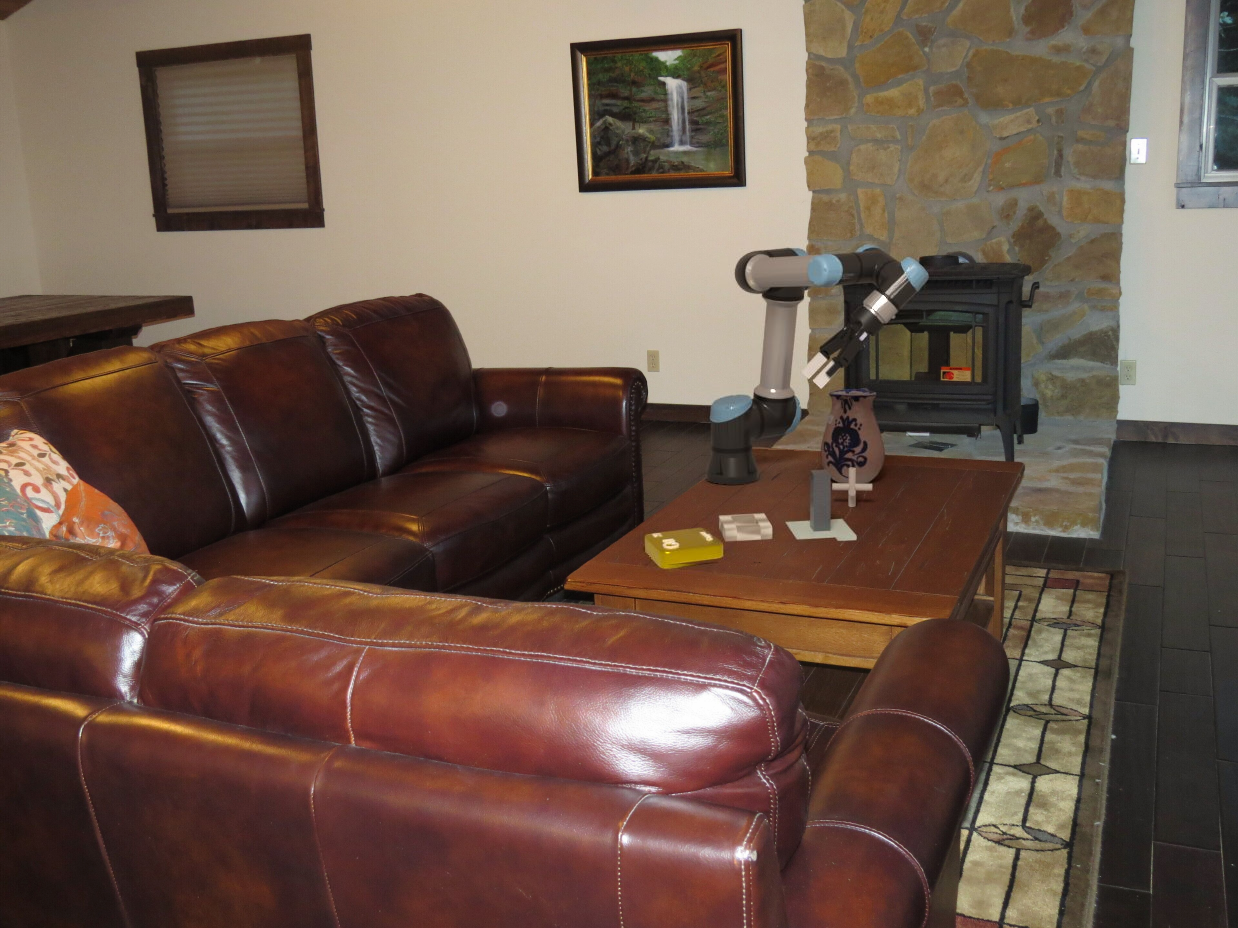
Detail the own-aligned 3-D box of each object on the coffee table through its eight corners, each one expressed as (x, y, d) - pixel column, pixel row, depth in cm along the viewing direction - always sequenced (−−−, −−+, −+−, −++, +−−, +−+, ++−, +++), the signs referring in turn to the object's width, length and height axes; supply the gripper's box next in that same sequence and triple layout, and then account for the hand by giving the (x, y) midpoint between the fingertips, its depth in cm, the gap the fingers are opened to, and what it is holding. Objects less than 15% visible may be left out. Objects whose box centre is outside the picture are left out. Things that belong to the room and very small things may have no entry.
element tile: (726, 563, 252) (725, 542, 251) (662, 571, 248) (661, 550, 247) (704, 544, 266) (703, 524, 265) (643, 551, 262) (642, 532, 261)
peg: (810, 526, 271) (810, 470, 267) (826, 525, 271) (826, 469, 267) (813, 531, 267) (813, 474, 263) (830, 530, 267) (830, 473, 264)
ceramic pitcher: (814, 487, 309) (813, 397, 303) (830, 468, 328) (830, 384, 322) (878, 491, 303) (879, 399, 297) (891, 472, 321) (892, 385, 316)
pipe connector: (872, 511, 284) (872, 473, 282) (831, 511, 286) (832, 473, 284) (871, 500, 294) (872, 463, 291) (832, 500, 296) (832, 463, 293)
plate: (785, 525, 276) (785, 521, 275) (842, 522, 276) (842, 518, 276) (796, 543, 262) (796, 539, 262) (856, 539, 262) (856, 535, 262)
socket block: (719, 531, 273) (718, 515, 273) (764, 528, 274) (764, 513, 273) (725, 545, 263) (725, 528, 262) (772, 542, 263) (772, 526, 262)
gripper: (899, 331, 256) (833, 399, 259) (870, 319, 280) (810, 381, 283) (876, 309, 254) (810, 378, 257) (849, 298, 278) (789, 361, 281)
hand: (810, 380), depth 270 cm, fingers open, 13 cm apart
